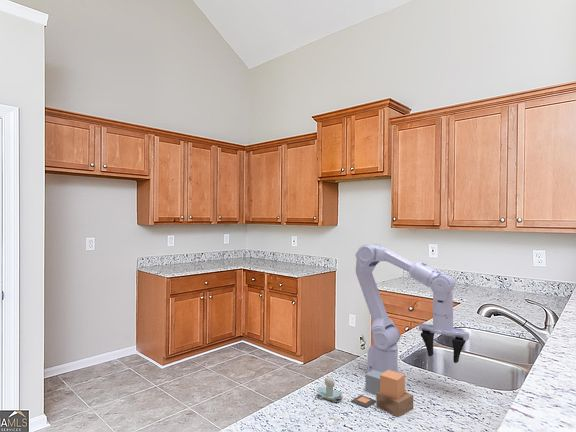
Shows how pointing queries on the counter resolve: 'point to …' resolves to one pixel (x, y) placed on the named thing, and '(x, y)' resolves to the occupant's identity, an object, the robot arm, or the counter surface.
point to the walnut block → (395, 403)
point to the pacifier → (329, 390)
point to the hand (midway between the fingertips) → (443, 358)
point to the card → (363, 401)
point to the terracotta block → (392, 384)
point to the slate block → (373, 382)
